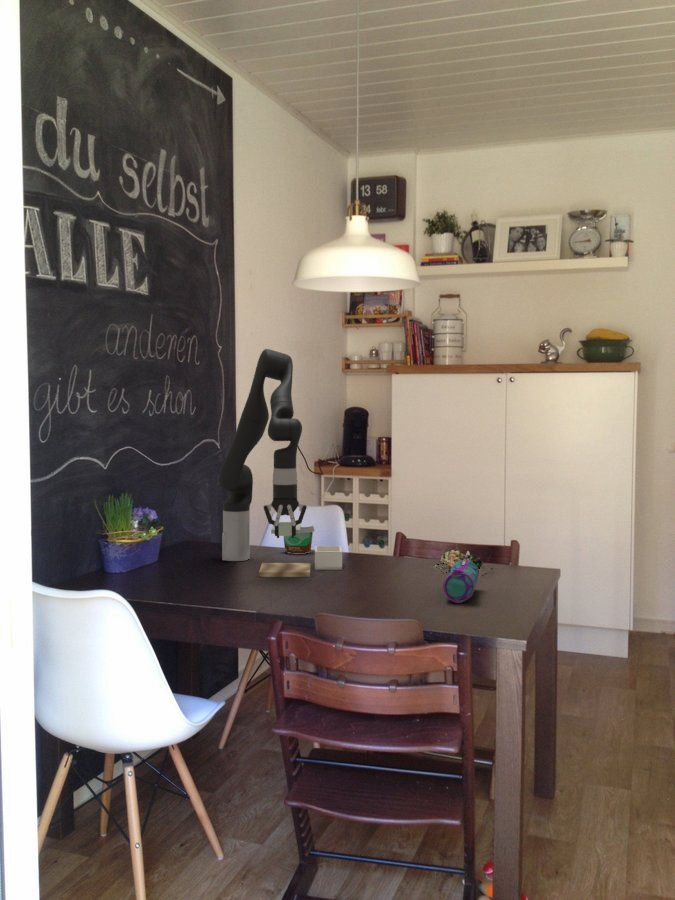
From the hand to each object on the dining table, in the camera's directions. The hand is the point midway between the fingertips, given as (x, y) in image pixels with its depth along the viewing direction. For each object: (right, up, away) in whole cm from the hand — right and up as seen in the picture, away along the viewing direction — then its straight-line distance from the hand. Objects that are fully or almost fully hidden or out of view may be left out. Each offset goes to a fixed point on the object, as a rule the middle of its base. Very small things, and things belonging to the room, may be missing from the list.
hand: (285, 537), depth 264 cm
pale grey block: (0, +1, +7) cm, 7 cm away
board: (-1, -12, +10) cm, 16 cm away
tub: (+13, -12, +20) cm, 27 cm away
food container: (+2, -11, +45) cm, 46 cm away
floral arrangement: (+57, -13, +20) cm, 62 cm away
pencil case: (+51, -15, -24) cm, 58 cm away
